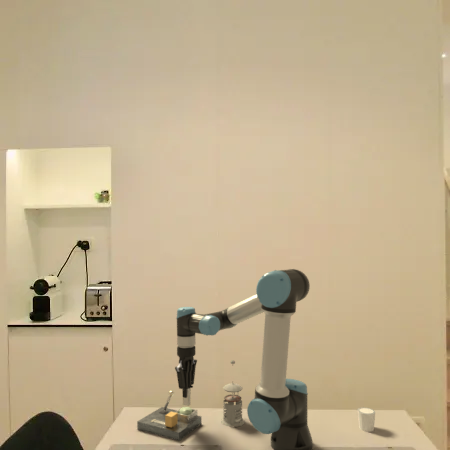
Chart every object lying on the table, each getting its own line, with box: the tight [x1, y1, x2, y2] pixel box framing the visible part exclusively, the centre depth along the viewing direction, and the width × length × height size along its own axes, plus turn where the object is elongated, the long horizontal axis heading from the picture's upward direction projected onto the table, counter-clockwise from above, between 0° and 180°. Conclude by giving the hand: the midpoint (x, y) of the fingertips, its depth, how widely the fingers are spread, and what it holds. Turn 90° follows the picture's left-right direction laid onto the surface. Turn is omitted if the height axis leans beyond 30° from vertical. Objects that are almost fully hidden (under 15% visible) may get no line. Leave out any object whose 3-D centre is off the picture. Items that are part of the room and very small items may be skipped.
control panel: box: [136, 406, 202, 442], centre depth 162 cm, size 20×16×6 cm
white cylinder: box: [356, 406, 376, 433], centre depth 160 cm, size 7×7×7 cm
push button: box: [179, 406, 193, 415], centre depth 163 cm, size 5×5×3 cm
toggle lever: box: [163, 390, 175, 411], centre depth 167 cm, size 2×2×10 cm
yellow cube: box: [165, 412, 178, 428], centre depth 156 cm, size 3×4×4 cm
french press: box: [220, 360, 245, 428], centre depth 168 cm, size 10×12×25 cm
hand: (186, 404), depth 163 cm, fingers closed
